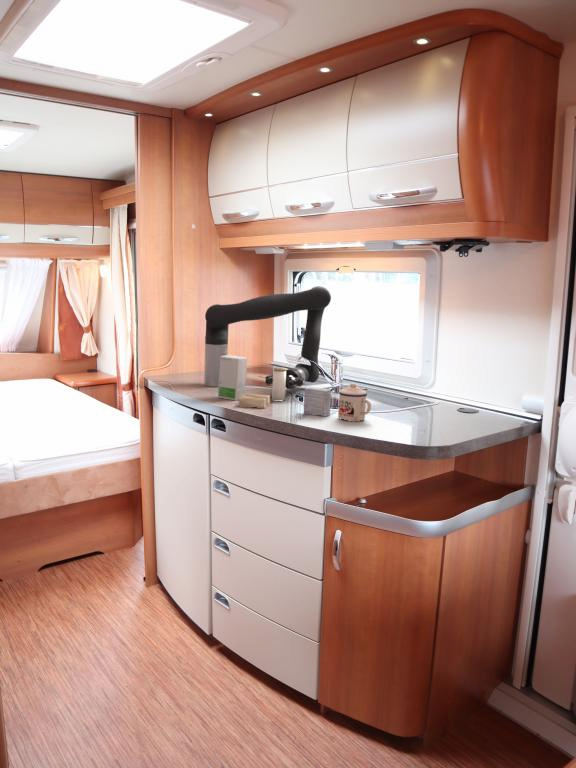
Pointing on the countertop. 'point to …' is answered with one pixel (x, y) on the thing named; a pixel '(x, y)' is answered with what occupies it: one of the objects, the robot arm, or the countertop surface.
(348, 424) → the countertop surface
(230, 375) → the skincare box
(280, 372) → the spice jar
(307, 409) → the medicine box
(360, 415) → the teacup with lid
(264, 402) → the plinth
